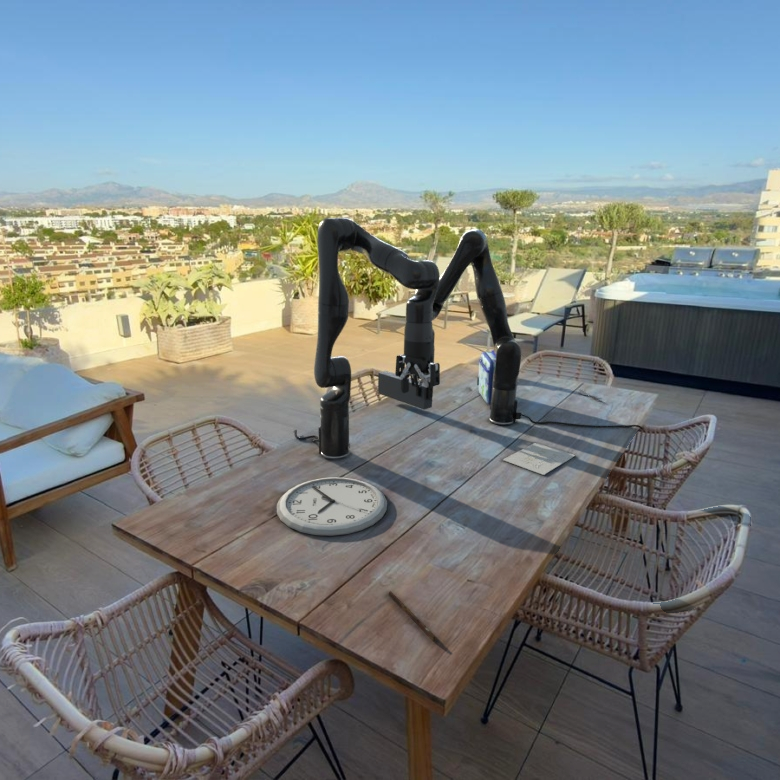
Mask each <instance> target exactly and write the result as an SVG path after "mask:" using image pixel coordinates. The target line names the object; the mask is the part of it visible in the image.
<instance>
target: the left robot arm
mask: <svg viewBox="0 0 780 780" xmlns="http://www.w3.org/2000/svg"><path fill="white" fill-rule="evenodd" d="M316 234H317V236H316V239H317V240H316V241H317V255H318V257H317V258H318V299H317V301H318V302H317V335H316V336H317V337H316V338H317V339H316V347H315V356H314V363H313V364H314V365H313V377H314V381H315V383H316V385H317V386H318V387H319V388H321V389H328V388H331V389H330V390H329V391H327V392H326V393H325V394H323V395H322V396H321V397H320V399H319V407H320V409H319V410H320V426H319V427H318V436H317V435H307V436H302V437H300V436H298V430H297V429H294V430H293V433H294V438H296V440H300V441H304V440H308V439H312V443H315V442H318V454H319V455H321V457H322V458H324V459H326V460H332V461H339V460H344V459H347V458H348V457H349V456H350V449H351V443H350V400H351V390H352V389H351V387H352V368H351V364H350V361H349V360H348V358H347V357H345V356H343V355H340V356H339V355H338V356H332V355H333V349H334V346H335V343H336V341H337V340H338V338H339V336H340V335H341V333H342V331H343V330H344V328H345V326H346V324H347V322H348V320H349V313H350V311H349V310H350V296H349V292H348V289H347V287H346V285H345V283H344V281H343V279H342V277H341V274H340V271H339V252H347V251H351V252H356V253H359V254H361V255H364V256H365V257H366V258H367V260H368V261H369V263H370V264H371V265H372V266H373V267H375V268H376V269H378V270H380V271H382V272H384V273H386V274H387V275H390V276H391V277H392V278H394V280H395V281H397V282H398V283H399V284H400V285H401V286H403V287H405V288H407V289H408V290H415V291H414V295H413V296H412V297H410V298H408V300H407V301H406V303H405V321H404V322H405V323H404V332H403V354H399V355H398V354H397V355H396V356H395V357H396V360H395V371H394V373H395V375H396V376H399V377H400V379H401V390H402V393H406V392H408V391H409V379H408V378H410V375H411V374H412V375H416V376H420V379H419V380H423V382H424V384H425V386H426V387H425V392H424V400H430V399H431V398H432V399H433V398H434V397H433V396H434V387H436V386H440V385H441V365H440V363H439V362H434V363H431V362H430V357H431V355H432V336H433V330H434V327H433V321H432V313H433V303H434V300H435V297H436V293H437V289H438V285H439V280H440V276H441V274H440V270H439V266H438V265H437V264H436V263H435V262H434V261H432V260H414V259H413V260H411V258H410V256H409V255H408V253H406V252H405V251H404V250H401V249H400V248H397V247H395V246H393V245H392V244H389V243H387V242H384V241H383V240H381V239H380V238H378V237H376V236H374V235H373V234H371V233H370V232H369V231H367V230H366V229H365V228H363V227H362V226H360V224H358V223H357V222H356V221H354V220H352V219H350V218H347V217H325V218H323V219H322V220H321V221H320V222H319V224H318V227H317V233H316ZM429 368H430V369H429ZM425 374H427V375H425ZM427 379H428V380H427ZM428 381H429V382H428ZM299 437H300V438H299Z"/></svg>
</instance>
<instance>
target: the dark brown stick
mask: <svg viewBox="0 0 780 780" xmlns="http://www.w3.org/2000/svg"><path fill="white" fill-rule="evenodd" d="M388 596H389V598H390V599H391V600H393V601H394V602H395V604H397V606H398V607H399V608H400V609H401V610H402V611H403V612H404V613H405V614H406V615H407V616H408V617H409V618H410V619H411V620H412V621H413V622H414V623H415V624H416V625H417V626H418V627H419V628H420V630H422V631H423V633H425V635H426V636H427V637H429V639H430V641H432V642H434V641H436V635H434V634H433V632H432V631H431V630H430V629H429V628H428V627H427V626H426V625H425V624H424V623H423V622H422V621H421V620H420V619H419V618H418V617H417V616H416V615H415V614H414V613H413V612H412V611H411V610H410V609H409V608H408V607H407V606H406V605H405V603H403V602H402V601H401V599H399V598H398V597H397V596H396V595H395V594H394V593H393V592H392V591H390V590H389V592H388Z"/></svg>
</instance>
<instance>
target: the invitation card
mask: <svg viewBox="0 0 780 780" xmlns="http://www.w3.org/2000/svg"><path fill="white" fill-rule="evenodd" d="M576 456H577V455H576V454H573V453H570V452H567V451H565V450H561V449H558V448H555V447H552V446H549V445H546V444H543V443H539V442H534V443H532V444H529V445H528V446H526V447H524V448H522V449H520V450H518V451H516V452H514V453H512V454H510V455H509V456H507V457H505V458H503V459H502V461H503V462H506V463H509V464H511V465H514V466H518V467H520V468H523V469H525V470H528V471H531V472H534V473H536V474H539V475H541V476H545V475H547V474H548V473H550V472H552V471H554V469H556V468H558V467H559V466H561V465H563V464H564V463H566V462H568V461H570V460H571V459H572V458H574V457H576Z"/></svg>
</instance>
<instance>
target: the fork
mask: <svg viewBox="0 0 780 780" xmlns="http://www.w3.org/2000/svg"><path fill="white" fill-rule="evenodd" d="M579 392H580V394H581V395H582V396H588V397H590V398H591V399H593V400H595V401H598V402H601V403H602V402H603V401H602V400H601V399H599V398H598V397H596V396H592V395H590V394H587V392H586V391H585V390H584V388H583V387H582V388H579Z"/></svg>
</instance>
